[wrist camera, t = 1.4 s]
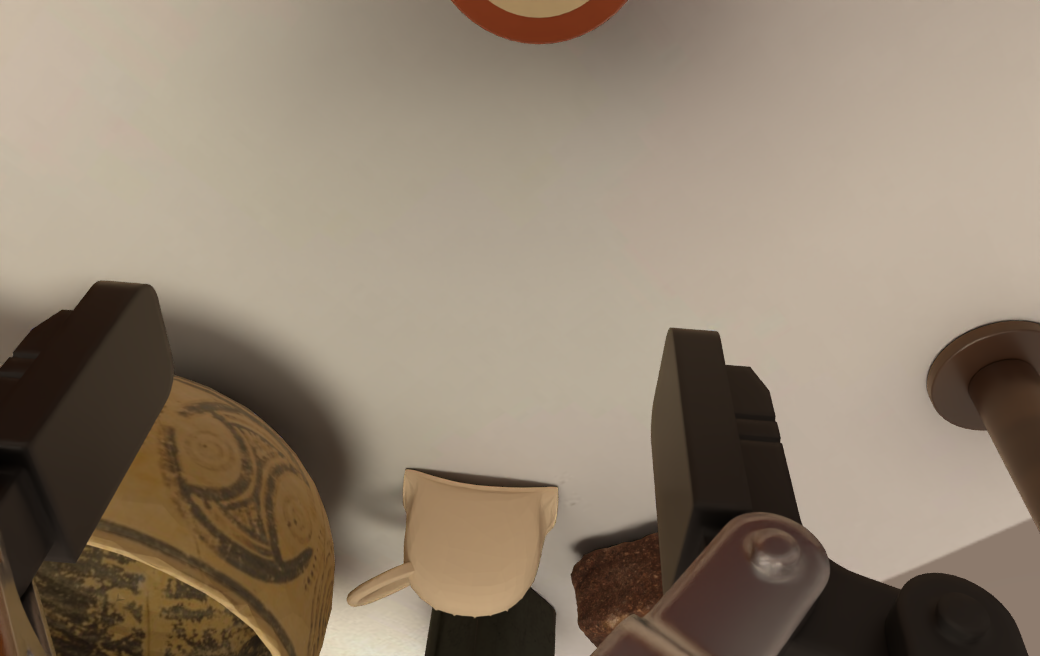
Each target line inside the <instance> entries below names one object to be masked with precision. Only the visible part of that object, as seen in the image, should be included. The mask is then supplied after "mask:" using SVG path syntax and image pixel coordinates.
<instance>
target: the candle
mask: <svg viewBox="0 0 1040 656" xmlns="http://www.w3.org/2000/svg"><path fill="white" fill-rule="evenodd" d="M555 625H556V613H555V610H554V609H553V608H552V607H551V606H550V605H549V604H548V603H547V602H546V601H544V600H543V599H542V598H541V597H540V596H539V595H537V594H536V593H535V592H534V591H533V590H532V589H530V588H529V589H528V590H527V592H526V593H525V595H524V596H523V598H522V599H520V600H519V601H518V602H517V603H516V604H515V605H514V606H512V607H511V608H509V609H508V612H507V611H506V610H505V611H503V612H500V613H497V614H493V615H491V617H490V615H488V616H478V617H476V618H474V617H473V616H461V615H455V616H454V615H453V614H450V613H446V612H443V611H440V610H435V609H434V608H433V607H432V614H431V620H430V626H429V632H428V638H427V645H426V651H425V656H555Z"/></svg>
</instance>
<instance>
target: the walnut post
mask: <svg viewBox="0 0 1040 656" xmlns="http://www.w3.org/2000/svg"><path fill="white" fill-rule="evenodd" d="M927 391H928V394H929V397H930V399H931V402H932V404H933V406H934V408H935V409H936V411H937V412H938V413H939V415H940V416H942V417H943V418H944V419H945V420H947V421H948V422H950V423H952V424H954V425H956V426H959V427H962V428H966V429H971V430H987V431H988V433H989V435H990V437H991V439H992V441H993V443H994V444H995V446H996V448H997V450H998V452H999V454H1000V456H1001V458H1002V460H1003V462H1004V464H1005V466H1006V468H1007V470H1008V472H1009V474H1010V476H1011V478H1012V480H1013V482H1014V484H1015V485H1016V487H1017V489H1018V491H1019V493H1020V495H1021V497H1022V499H1023V501H1024V503H1025V505H1026V507H1027V509H1028V511H1029V513H1030V515H1031V517H1032V519H1033V521H1034V523H1035V524H1036V526H1037V528H1038V530H1039V532H1040V324H1037V323H1033V322H1027V321H1005V322H998V323H993V324H989V325H986V326H983V327H980V328H977V329H975V330H972V331H970V332H968V333H966V334H964V335H962V336H961V337H959V338H958V339H956V340H955V341H953V342H952V343H951V344H949V345H948V346H947V347H946V348H945V349H944V350H943V351H942V352H941V353H940V354H939V356H938V357H937V358H936V359H935V361H934V363H933V364H932V366H931V369H930V371H929V374H928V378H927Z"/></svg>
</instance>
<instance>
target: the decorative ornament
mask: <svg viewBox="0 0 1040 656" xmlns="http://www.w3.org/2000/svg"><path fill="white" fill-rule="evenodd" d="M403 506H404V508H405V511H406V514H407V516H406V531H405V539H404V564H402V565H400V566H397V567H394V568H392V569H390V570H388V571H386V572H384V573H382V574H380V575H378V576H376V577H374V578H372V579H370V580H368V581H366V582H365V583H363V584H361V585H359V586H358V587H357V588H355V589H354V590H352V591H351V592H350V593H349V594H348V597H347V602H348V604H349V605H350V606H353V607H357V606H362V605H366V604H369V603H372V602H375V601H377V600H379V599H382V598H384V597H386V596H389V595H391V594H393V593H395V592H397V591H399V590H402V589H404V588H405V587H407V586H409V585H411V587H412V589H413V590H414V591H415V592H416V593H417V594H418V596H419V597H420V598H421V599H422V600H424V601H425V602H426V603H428V604H429V605H430V606H432V607H433V608H434V609H435V610H440V611H443V612H446V613H450V614H453V615H454V616H455V615H461V616H473V617H474V618H476V617H478V616H488V615H490V617H491V615H493V614H497V613H500V612H503V611H505V610H506V611H507V612H508V609H509V608H511V607H512V606H514V605H515V604H516V603H517V602H518V601H519V600H520V599H522V598H523V596H524V595H525V593H526V592H527V590H528V589H529V587H530V586H531V584H532V583H533V582H534V578H535V576H536V573H537V570H538V567H539V562H540V557H541V552H542V548H543V544H544V540H545V536H546V535H547V533H548V532H549V531H550V530H551V529H552V528H553V527H554V525H555V523H556V517H557V510H558V487H534V488H513V487H493V486H480V485H472V484H465V483H459V482H455V481H450V480H446V479H442V478H438V477H435V476H431V475H428V474H425V473H422V472H419V471H415V470H408V469H406V470H405V476H404V484H403Z"/></svg>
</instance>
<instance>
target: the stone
mask: <svg viewBox="0 0 1040 656" xmlns="http://www.w3.org/2000/svg"><path fill="white" fill-rule="evenodd" d="M571 578H572V583H573V586H574V589H575V594H576V601H577V606H578V608H577V611H578V625H579V628H580V629H581V630H582V631H583V632H584V633H585V635H586V636H587V637H588V638H589V639H590V641H591V642H592V643H593V644H594V645H595V646H596V647H598V646H599V645H600V644H601V643H602V642H603V641H604V640H605V639H606V637H607V636H608V635H609V634H610V633H611V632H612V631H613V630H614V629H615V628H616V626H617V625H618V624H619V623H621V622H622V621H623V620H624V619H625V618H627V617H628V616H630V615H632V614H636V615H638V616H639V617H640V618H642V617H644V616H645V615H646V614H647V613H648V612H649V611H650V610H651V609H652V608H653V607H654V606H655V605H656V604H657V602H658V601H659V600H660V599H661V598H662V597H663V586H662V573H661V560H660V548H659V535H658V532H657V533H653V534H650V535H647V536H645V537H644V538H642V539H639V540H636V541H634V542H623V543H620V544H618V545H616V546H612V547H610V548H603V549H597V550H594V551H592V552H590V553H588V554H586V555H583V558H582V559H581V560H580V561H579V562H577V564H576V565H575V566H574V568H573V571H572V573H571Z"/></svg>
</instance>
